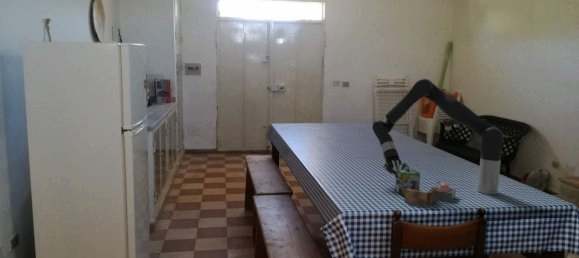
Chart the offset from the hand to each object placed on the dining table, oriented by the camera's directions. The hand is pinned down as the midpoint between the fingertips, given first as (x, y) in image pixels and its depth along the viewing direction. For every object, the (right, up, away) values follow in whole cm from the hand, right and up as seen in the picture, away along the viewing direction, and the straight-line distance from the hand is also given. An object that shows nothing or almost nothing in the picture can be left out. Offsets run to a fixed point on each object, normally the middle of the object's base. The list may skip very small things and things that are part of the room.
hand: (399, 179), depth 220 cm
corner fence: (+5, -8, -19) cm, 21 cm away
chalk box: (+2, -6, -7) cm, 10 cm away
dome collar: (+18, -7, -12) cm, 23 cm away
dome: (+18, -6, -12) cm, 23 cm away
